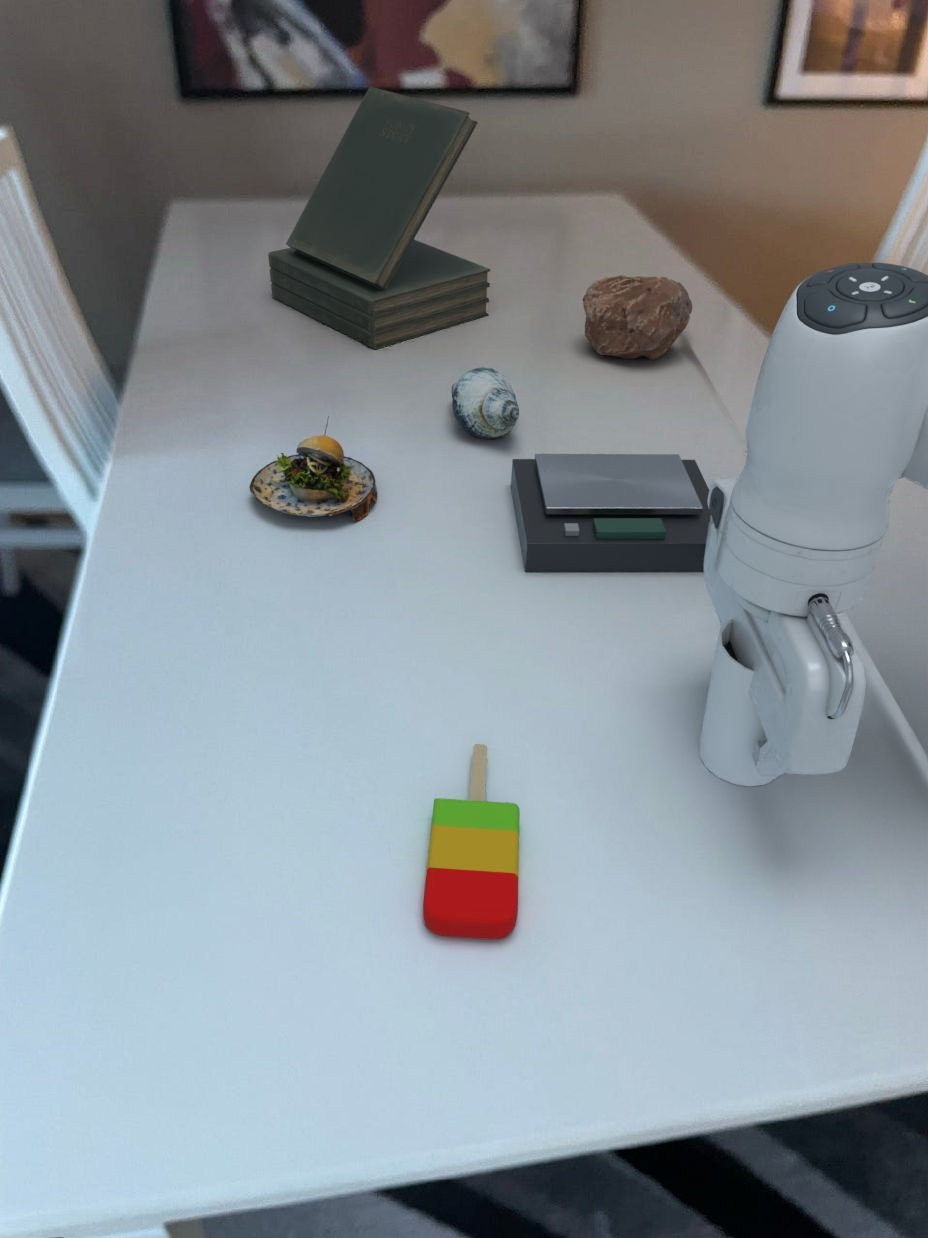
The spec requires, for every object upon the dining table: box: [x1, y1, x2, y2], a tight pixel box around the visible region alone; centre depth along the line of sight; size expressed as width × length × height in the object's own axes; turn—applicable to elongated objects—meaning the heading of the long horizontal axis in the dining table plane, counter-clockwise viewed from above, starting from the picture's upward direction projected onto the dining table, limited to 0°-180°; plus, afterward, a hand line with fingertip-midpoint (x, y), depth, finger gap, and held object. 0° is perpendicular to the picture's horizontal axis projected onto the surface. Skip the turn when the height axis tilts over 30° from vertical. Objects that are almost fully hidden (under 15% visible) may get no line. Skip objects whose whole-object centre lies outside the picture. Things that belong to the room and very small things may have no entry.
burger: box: [249, 415, 378, 523], centre depth 93 cm, size 12×12×8 cm
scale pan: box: [533, 453, 703, 515], centre depth 92 cm, size 14×10×1 cm
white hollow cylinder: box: [698, 619, 779, 788], centre depth 67 cm, size 7×7×10 cm
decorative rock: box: [582, 274, 693, 360], centre depth 123 cm, size 13×11×10 cm
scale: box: [510, 458, 711, 573], centre depth 92 cm, size 18×15×4 cm
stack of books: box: [268, 86, 491, 350], centre depth 129 cm, size 23×20×25 cm
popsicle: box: [422, 743, 521, 940], centre depth 63 cm, size 6×15×2 cm, turn 177°
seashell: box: [451, 366, 520, 440], centre depth 107 cm, size 6×8×12 cm
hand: (748, 721), depth 68 cm, fingers open, 7 cm apart
